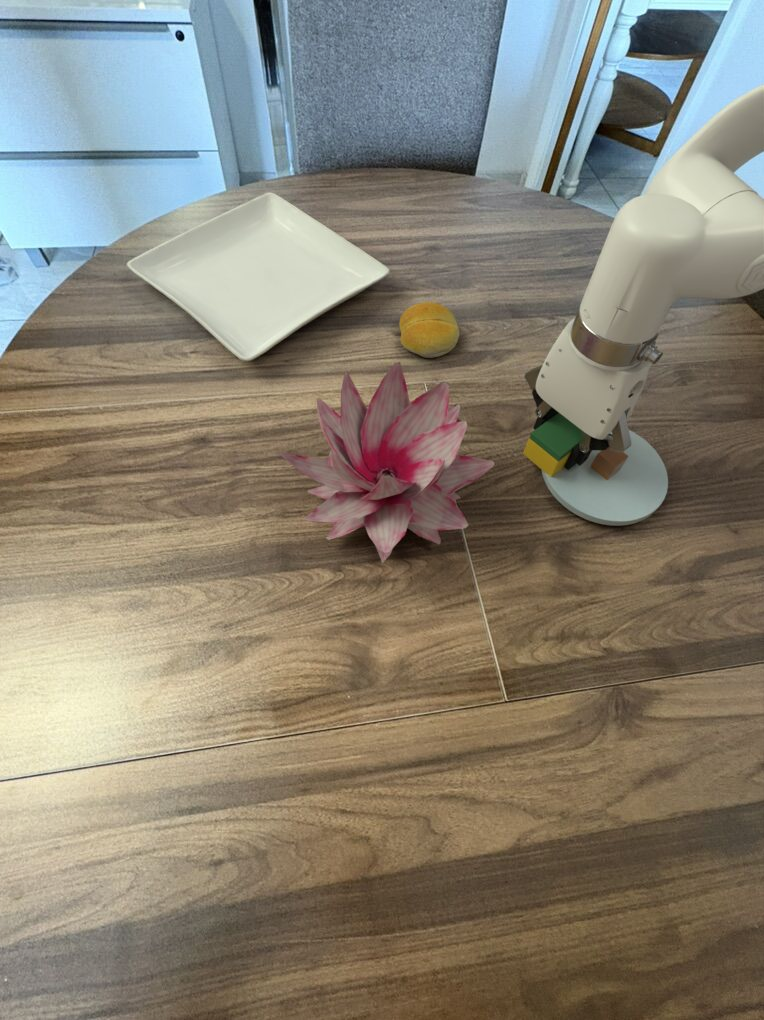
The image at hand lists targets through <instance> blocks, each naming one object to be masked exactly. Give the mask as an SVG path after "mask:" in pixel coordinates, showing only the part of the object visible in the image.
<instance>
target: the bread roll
mask: <svg viewBox="0 0 764 1020" xmlns="http://www.w3.org/2000/svg"><path fill="white" fill-rule="evenodd" d="M398 325H399V330H400V333H401V335H400V343H401V346H403V348H404V349H405V350H406V351H409V352H411V353H413V354H416V355H418V356H420V357H422V358H428V359H429V358H430V359H432V358H433V359H434V358H438V357H442V356H444V355H446V354H448V353H450V352H451V351H452V350H453V349H454V348H455V347H456V345H457V344H458V341H459V338H460V329H459V326H458V323H457V319H456V317H455V316H454V314H453V313H452V312H451V310H450V309H449V308H448V307H446V306H445V305H442V304H441V303H437V302H432V301H426V302H420V303H419V302H418V303H416V304H413V305H411V306H409V307H407V308H406V309H405V310H404V312H403V313H402V314H401V316H400V319H399V323H398Z"/></svg>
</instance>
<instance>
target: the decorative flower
mask: <svg viewBox="0 0 764 1020" xmlns="http://www.w3.org/2000/svg"><path fill="white" fill-rule="evenodd" d="M405 378H406V377H405V375H404V372H403V368H402V364H401V362H400V361H399V362H398V361H397V362H394V363H393V364H392V366H391V367H390V369H389V370H388V371H387V372H386V374H385V375H384V377H383V378H381V381H380V382H379V384H378V387H377V389H376V390H375V391H374V394H373V396H372V397H371V400H370V401H369V404H368V407H367V406H366V404H365V402H364V399H362V397H361V395H360V393H359V391H358V389H357V387H356V385H355V383H354V381H353V379H352V377H351V375H350V373H349V372H348V371H344V373H343V379H342V384H341V390H340V414H339V413H338V412H337V411H335V410H334V409H333V408H332V407H331V406H330V405H328V404H327V403H326V402H325V401H324V400H323V399H321V398H320V397H319V398H318V397H317V398H316V409H317V417H318V423H319V426H320V429H321V431H322V433H323V436H324V438H325V440H326V441H327V444H328V446H329V447H330V449H331V450H330V451H329V454H328V456H327V458H326V457H325V458H324V457H314V456H306V455H300V454H299V455H298V454H293V453H287V452H280V454H279V455H280V456H281V457H282V458H283V459H284V460H286V461H287V462H288V463H289V464H290V465H291V466H292V467H294V468H295V469H296V470H297V471H298V472H300V473H301V474H303V475H305V476H306V477H308V478H310V479H312V480H314V481H316V482H317V483H318V484H320V485H321V486H317V487H315V488H311V489H308V490H307V494H311V495H313V496H316V497H318V498H321V499H323V500H325V501H324V502H322V503H321V504H320V505H318V507H316V508H314V510H312V511H311V512H310V513H309V514H307V516H305V517H304V518H303V519H304V520H305V521H307V522H313V523H320V524H325V523H327V524H330V523H334V524H333V525H332V527H331V529H330V531H329V532H328V534H327V536H326V538H325V540H328V541H330V540H333V539H336V538H340V537H343V536H347V535H348V534H350V533H352V532H354V531H356V530H358V529H360V528H361V527H365V530H366V532H367V535H368V537H369V538H370V540H371V541H372V543H373V544H374V547H375V549H376V551H377V554H378V556H379V558H380V561H381V563H382V564H384V562H385V561H386V560H387V559H388V558H389V557H390V555H391V554H392V551H393V549H394V548H395V546H397V544H398V543H399V542H400V541H401V540H402V538H403V537H405V535H406V533H407V529H408V530H410V531H411V532H413V533H414V534H416V535H417V536H418V537H421V538H423V539H425V540H428V541H430V542H432V543H434V544H437V545H440V544H441V543H442V539H441V537H440V533H439V531H447V530H448V531H451V530H462V529H466V528H467V527H469V523H468V521H467V519H466V518H465V517H466V516H465V515H464V514H463V513H464V512H462V511H461V509H460V508H459V506H458V505H457V504H456V502H455V501H457V500H460V499H461V496H460V495H458V494H457V493H456V491H458V490H460V489H462V488H464V487H466V486H467V485H469V484H471V483H472V482H475V481H477V480H478V479H480V478H481V477H482V476H483V475H485V474H486V473H487V472H489V471H490V470H491V469H492V468H493V467H494V466H495V462H494V461H493V460H490V459H484V458H479V457H473V456H469V455H462V454H461V455H460V454H458V453H459V450H460V447H461V444H462V441H463V439H464V436H465V433H466V431H467V428H468V423H467V420H461V421H458V419H459V415H460V410H461V405H460V404H458V403H457V404H455V405H452V406H450V387H449V385H450V384H449V382H447V381H444V380H442V382H440V383H438V384H436V385H435V386H433V387H432V388H430V389H429V390H427V391H425V392H424V393H422V394H421V395H419V396H418V397H416V398H415V399H414V400H413V401H412V402H411V401H410V397H409V391H408V386H407V381H406V379H405Z"/></svg>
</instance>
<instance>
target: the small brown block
mask: <svg viewBox="0 0 764 1020" xmlns="http://www.w3.org/2000/svg"><path fill="white" fill-rule="evenodd" d="M628 457H629V456H628V455H626V454H625V453H624V452H617V451H611V450H609V449H606V450H601V451H600V452H599V453H598V454H597V456H596V457H595V459H594V461H593V463H592V464H591V466H590V467H591V468H593V469H594V470H595V471H596V472H598V473H599V474H600V475H601V476H603V477H604V478H605V479H606V480H608V479H609V478H611V477H612V476H613V475H614V474H615V473H617V472H618V471H619V470H620V469H621V468H622V466H623V464H624V463H625V461H626V460H627V458H628Z"/></svg>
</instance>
